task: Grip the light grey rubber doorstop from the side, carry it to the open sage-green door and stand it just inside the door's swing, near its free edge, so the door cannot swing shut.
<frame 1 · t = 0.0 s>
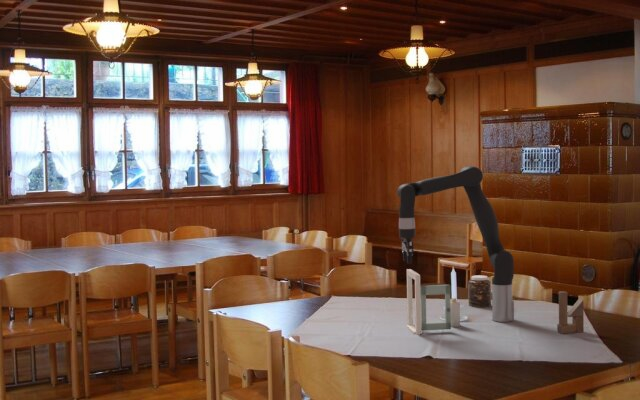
hand: (407, 262, 362), 29 cm above the table, tool pointing down, fingers open, 8 cm apart
door: (436, 307, 346), point 11 cm above the table, hinge at 90.0°
door frame: (414, 330, 353), on the table
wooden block: (570, 332, 341), on the table
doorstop: (454, 325, 360), on the table
jar: (479, 305, 405), on the table
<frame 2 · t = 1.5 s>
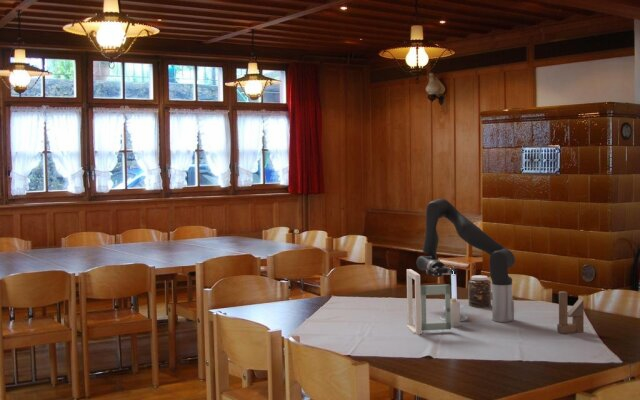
hand: (445, 273, 371), 22 cm above the table, tool horizontal, fingers open, 8 cm apart
nothing on the table moved.
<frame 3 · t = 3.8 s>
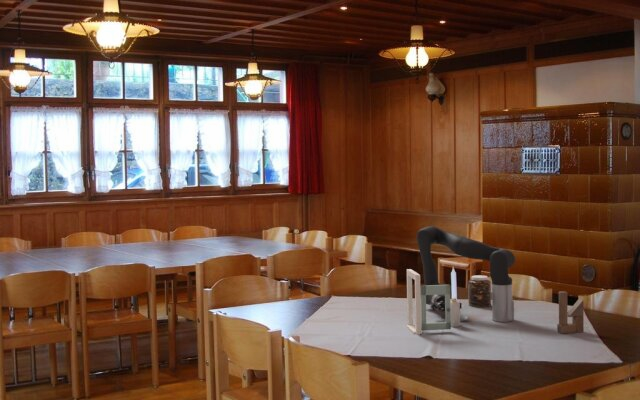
hand: (449, 308, 367), 7 cm above the table, tool horizontal, fingers open, 8 cm apart
nothing on the table moved.
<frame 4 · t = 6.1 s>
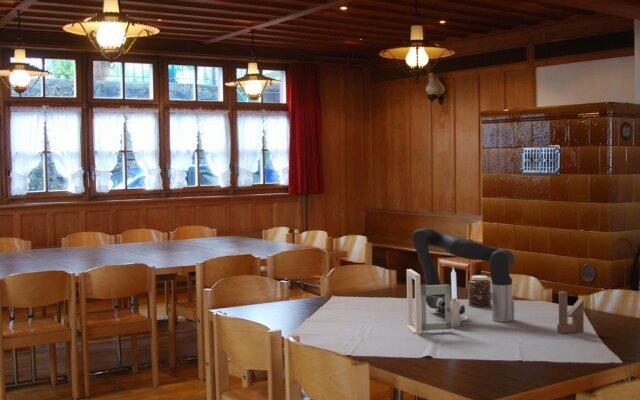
hand: (455, 312, 357), 7 cm above the table, tool horizontal, fingers closed on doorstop, 5 cm apart
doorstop: (454, 325, 360), on the table, touching gripper
everything else where it was.
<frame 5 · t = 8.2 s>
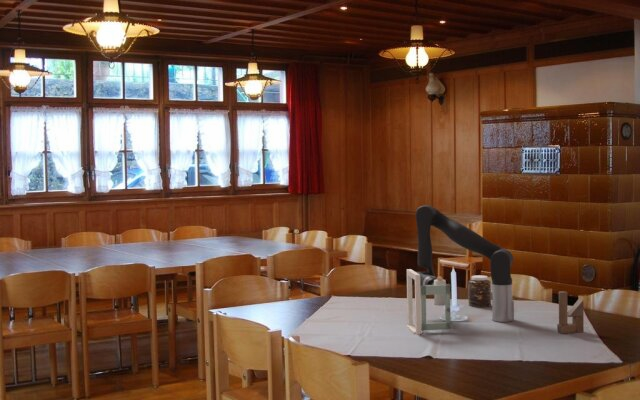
hand: (441, 291, 350), 18 cm above the table, tool horizontal, fingers closed on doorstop, 5 cm apart
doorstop: (440, 304, 353), point 11 cm above the table, touching gripper
everything else where it was.
when the fingers open (8 cm above the table, at t = 10.7 s): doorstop drops 1 cm, on the table.
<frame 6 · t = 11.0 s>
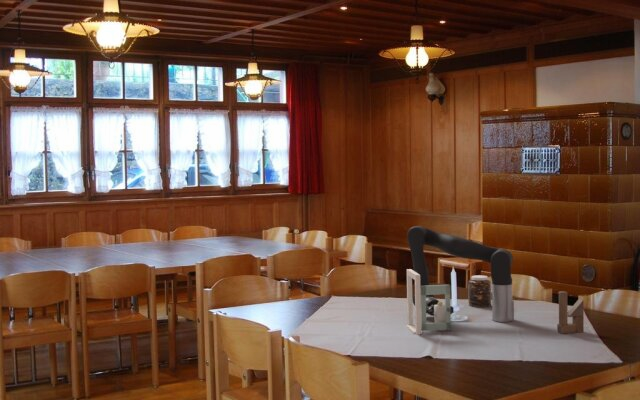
hand: (441, 312, 350), 8 cm above the table, tool horizontal, fingers open, 8 cm apart
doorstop: (440, 329, 352), on the table
everything else where it was.
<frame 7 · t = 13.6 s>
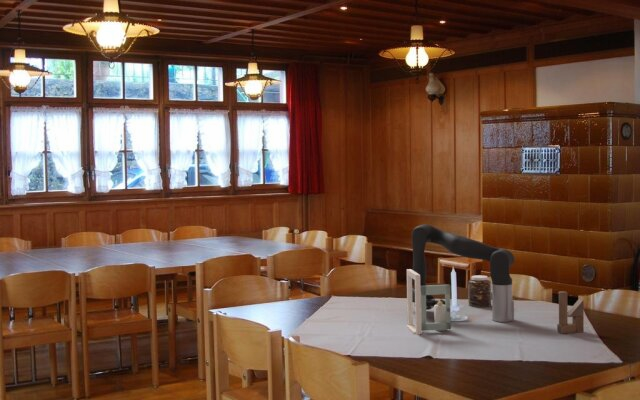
hand: (433, 306, 363), 8 cm above the table, tool horizontal, fingers open, 8 cm apart
nothing on the table moved.
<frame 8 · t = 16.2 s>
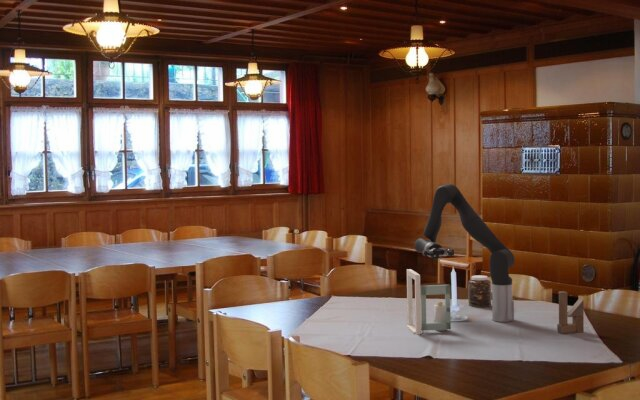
hand: (442, 254, 366), 32 cm above the table, tool horizontal, fingers open, 8 cm apart
nothing on the table moved.
at the end: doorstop 0.4 cm from the target spot, on the table; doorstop tilted 0°; door at +90° (first picture: +90°) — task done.
